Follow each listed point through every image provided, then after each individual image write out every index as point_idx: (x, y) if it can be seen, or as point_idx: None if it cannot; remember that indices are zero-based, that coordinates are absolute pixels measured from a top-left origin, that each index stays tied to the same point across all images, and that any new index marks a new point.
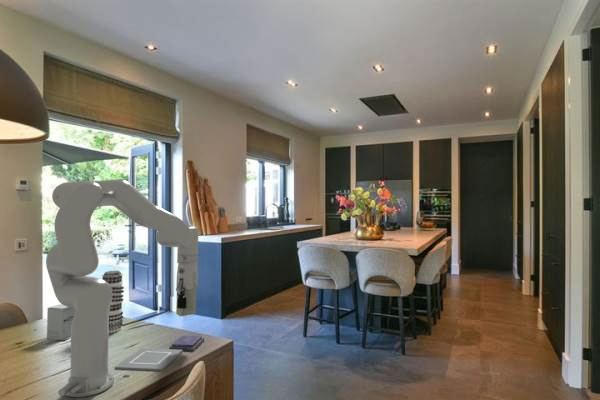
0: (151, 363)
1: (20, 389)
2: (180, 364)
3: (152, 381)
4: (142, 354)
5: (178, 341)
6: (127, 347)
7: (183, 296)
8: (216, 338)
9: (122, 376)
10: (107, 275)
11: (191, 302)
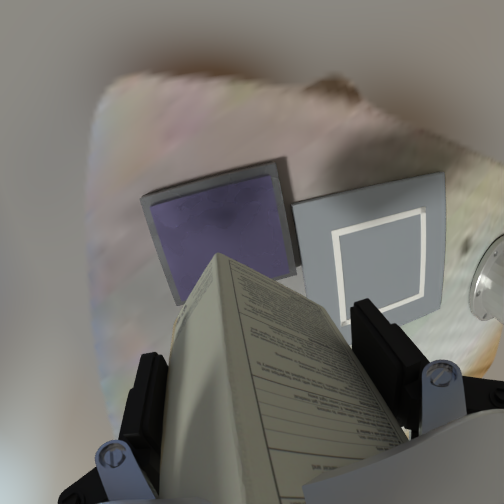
0: (422, 231)
1: (485, 363)
2: (394, 138)
3: (480, 158)
4: None
5: (252, 268)
6: None
7: (458, 373)
8: (95, 159)
9: (468, 253)
10: None
11: (274, 329)
